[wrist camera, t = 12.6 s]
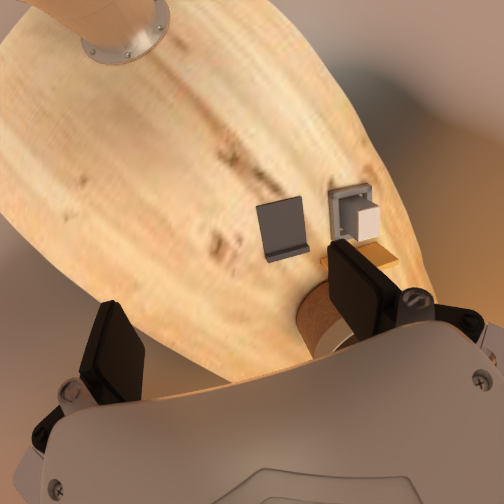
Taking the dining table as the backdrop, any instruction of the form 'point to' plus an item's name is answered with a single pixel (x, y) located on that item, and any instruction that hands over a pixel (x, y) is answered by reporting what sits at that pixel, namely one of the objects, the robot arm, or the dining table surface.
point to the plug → (359, 217)
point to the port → (371, 251)
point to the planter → (323, 324)
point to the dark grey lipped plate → (283, 229)
